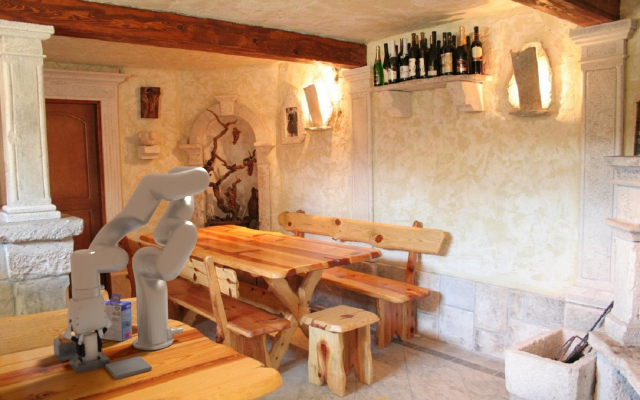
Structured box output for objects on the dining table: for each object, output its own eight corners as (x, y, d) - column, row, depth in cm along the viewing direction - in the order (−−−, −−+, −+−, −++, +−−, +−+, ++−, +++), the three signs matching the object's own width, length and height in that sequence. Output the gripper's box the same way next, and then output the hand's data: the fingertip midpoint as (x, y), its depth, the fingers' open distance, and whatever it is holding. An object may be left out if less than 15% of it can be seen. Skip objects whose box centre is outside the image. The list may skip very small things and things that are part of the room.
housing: (78, 349, 169) (77, 334, 168) (84, 356, 163) (83, 340, 163) (54, 354, 164) (53, 338, 164) (59, 361, 159) (58, 345, 158)
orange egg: (75, 346, 167) (75, 329, 167) (80, 351, 163) (79, 333, 163) (57, 350, 164) (56, 332, 164) (61, 355, 160) (60, 337, 159)
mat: (139, 359, 161) (139, 355, 161) (151, 370, 153) (151, 366, 153) (105, 367, 155) (105, 364, 155) (115, 379, 147) (115, 375, 147)
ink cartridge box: (133, 336, 180) (131, 294, 179) (122, 342, 175) (120, 298, 173) (109, 333, 183) (107, 292, 182) (97, 339, 178) (95, 296, 177)
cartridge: (93, 359, 160) (92, 330, 159) (101, 363, 157) (99, 333, 156) (79, 364, 157) (77, 334, 156) (86, 368, 154) (85, 338, 153)
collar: (100, 356, 163) (100, 349, 163) (109, 365, 156) (109, 359, 156) (69, 363, 158) (68, 356, 158) (77, 373, 151) (76, 366, 150)
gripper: (107, 284, 164) (110, 342, 166) (50, 296, 151) (54, 359, 153) (120, 288, 159) (123, 348, 161) (63, 301, 146) (67, 366, 148)
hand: (89, 352), depth 157 cm, fingers closed on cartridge, 4 cm apart
